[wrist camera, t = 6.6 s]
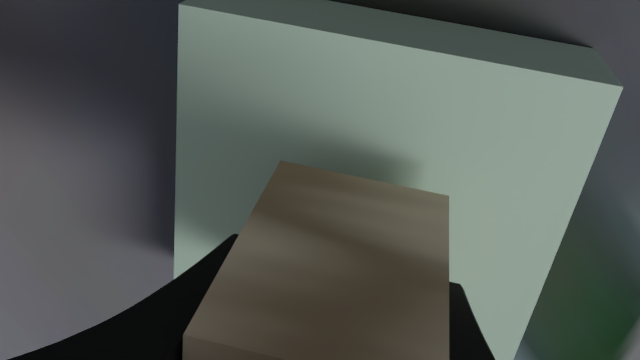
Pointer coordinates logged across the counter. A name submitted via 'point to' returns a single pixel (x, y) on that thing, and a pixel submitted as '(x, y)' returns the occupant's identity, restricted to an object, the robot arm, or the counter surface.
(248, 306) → the beech block
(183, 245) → the sage base block
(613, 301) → the counter surface
